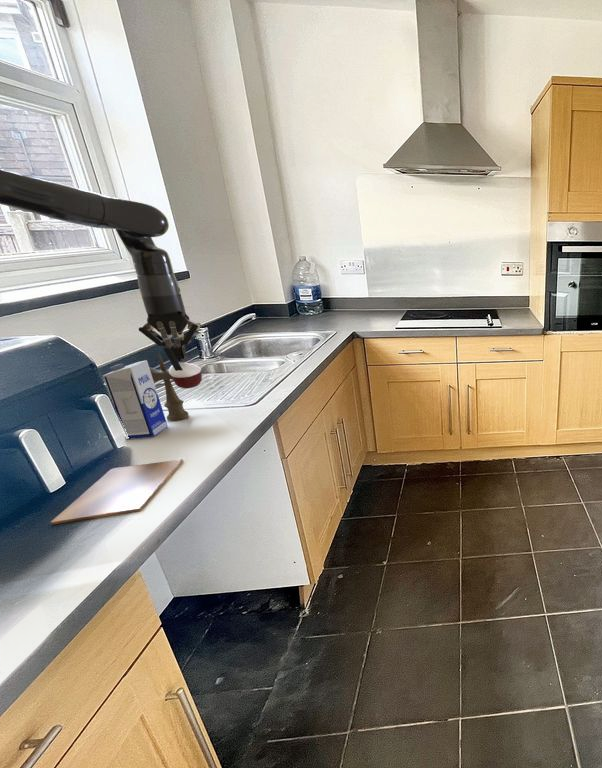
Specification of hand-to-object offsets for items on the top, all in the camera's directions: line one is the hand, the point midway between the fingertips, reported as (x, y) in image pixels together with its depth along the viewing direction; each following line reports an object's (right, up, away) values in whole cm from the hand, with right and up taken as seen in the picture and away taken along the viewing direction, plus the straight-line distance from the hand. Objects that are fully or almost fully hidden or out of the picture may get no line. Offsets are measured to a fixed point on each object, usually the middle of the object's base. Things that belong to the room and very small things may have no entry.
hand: (180, 360), depth 107 cm
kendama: (-13, -16, +16) cm, 27 cm away
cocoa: (+1, -7, +2) cm, 7 cm away
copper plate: (+3, -29, -19) cm, 34 cm away
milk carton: (-15, -20, +7) cm, 25 cm away
